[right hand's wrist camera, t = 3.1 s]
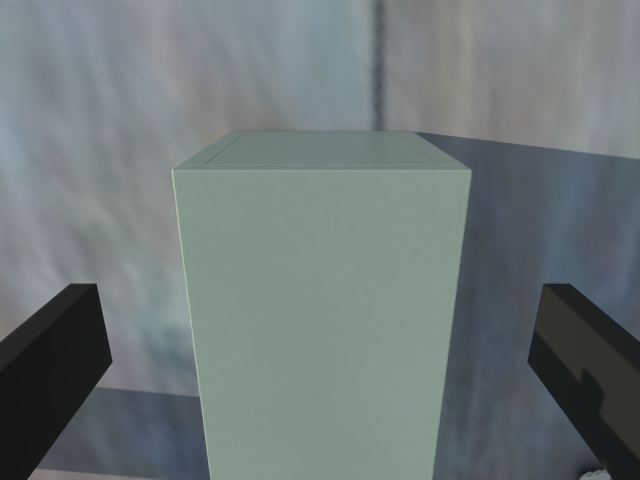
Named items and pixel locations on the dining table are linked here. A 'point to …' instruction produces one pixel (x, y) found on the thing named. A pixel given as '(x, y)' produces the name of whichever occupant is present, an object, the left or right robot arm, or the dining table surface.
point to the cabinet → (321, 300)
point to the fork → (596, 475)
